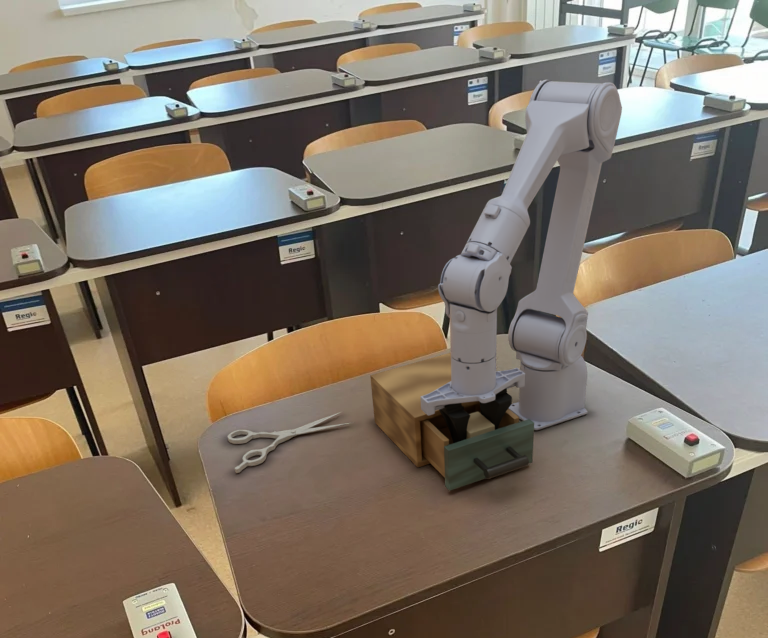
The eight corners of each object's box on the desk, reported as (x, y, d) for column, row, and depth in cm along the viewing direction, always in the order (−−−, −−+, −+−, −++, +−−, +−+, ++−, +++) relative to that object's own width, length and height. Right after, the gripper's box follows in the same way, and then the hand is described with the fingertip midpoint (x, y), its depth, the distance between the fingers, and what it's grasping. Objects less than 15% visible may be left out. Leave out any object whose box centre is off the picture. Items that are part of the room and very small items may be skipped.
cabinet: (503, 439, 110) (504, 390, 105) (417, 467, 106) (414, 417, 101) (454, 398, 121) (453, 351, 116) (374, 422, 117) (370, 375, 112)
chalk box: (477, 442, 106) (478, 411, 103) (494, 456, 103) (495, 425, 100) (454, 449, 105) (453, 418, 102) (470, 465, 102) (470, 433, 99)
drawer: (550, 477, 100) (553, 437, 96) (465, 507, 96) (464, 466, 93) (481, 419, 113) (481, 381, 109) (404, 443, 109) (401, 405, 106)
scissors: (216, 436, 115) (336, 400, 121) (217, 440, 116) (337, 404, 122) (235, 469, 107) (363, 429, 113) (236, 474, 108) (363, 433, 114)
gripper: (437, 380, 90) (440, 474, 98) (540, 350, 94) (535, 443, 102) (411, 358, 95) (416, 449, 103) (509, 331, 99) (507, 420, 108)
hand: (473, 444), depth 103 cm, fingers closed on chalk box, 4 cm apart
